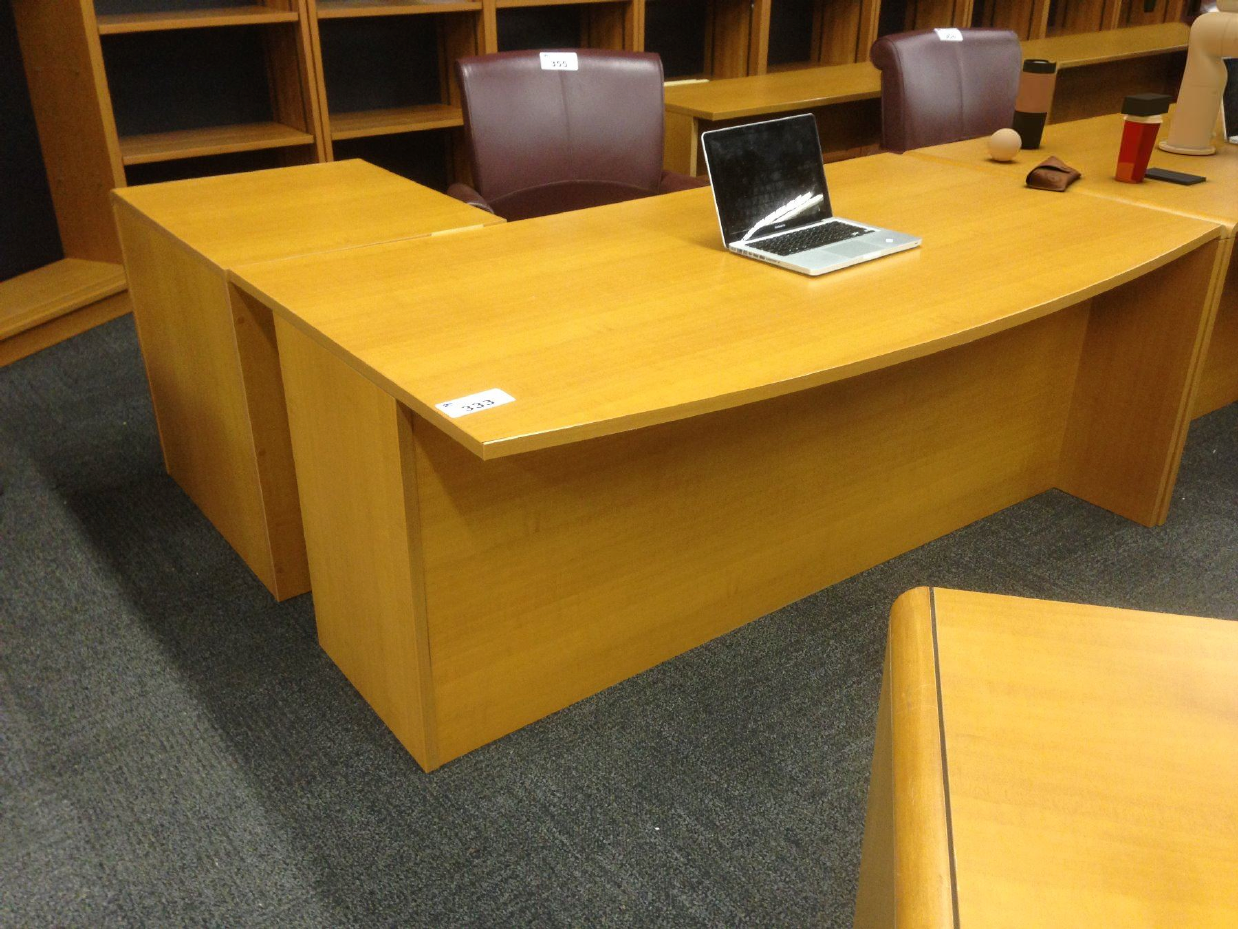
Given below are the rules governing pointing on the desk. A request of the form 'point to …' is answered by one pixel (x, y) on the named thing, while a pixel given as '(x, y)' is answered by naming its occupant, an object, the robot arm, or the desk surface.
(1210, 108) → the robot arm
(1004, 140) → the cream ovoid piece
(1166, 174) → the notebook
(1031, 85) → the travel mug
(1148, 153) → the paper cup
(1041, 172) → the sunglasses case
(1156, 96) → the black block
